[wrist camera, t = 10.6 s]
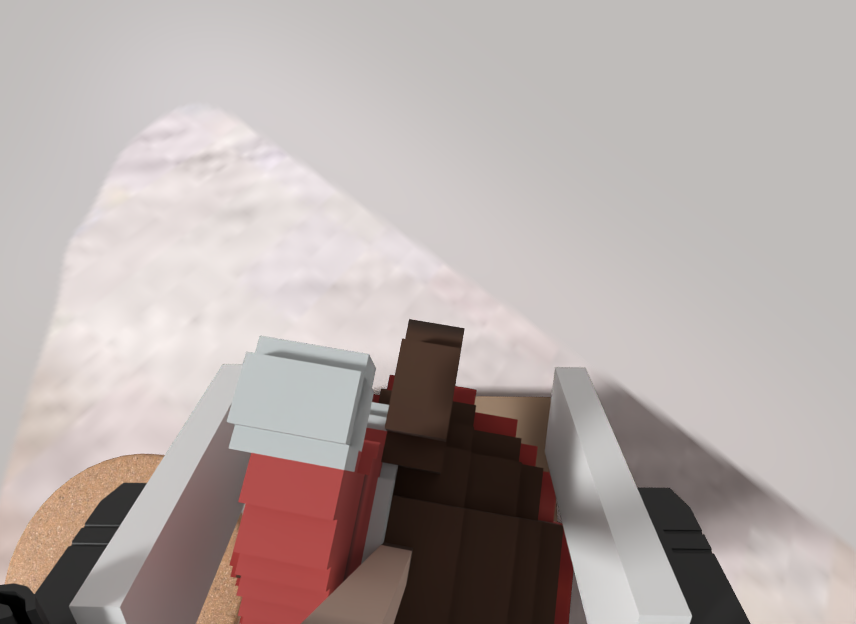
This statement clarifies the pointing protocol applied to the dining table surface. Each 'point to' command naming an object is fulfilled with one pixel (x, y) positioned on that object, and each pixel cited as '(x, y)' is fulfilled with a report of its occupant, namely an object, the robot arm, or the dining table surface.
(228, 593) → the lidded jar
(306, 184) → the dining table surface
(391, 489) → the cake
